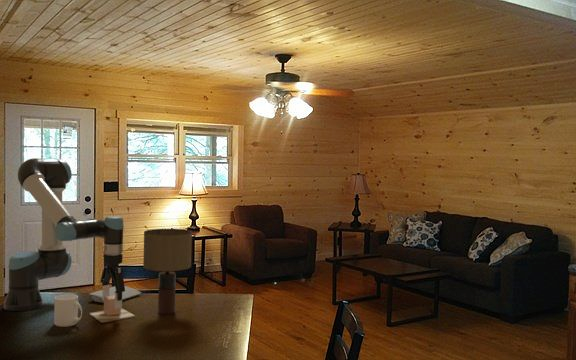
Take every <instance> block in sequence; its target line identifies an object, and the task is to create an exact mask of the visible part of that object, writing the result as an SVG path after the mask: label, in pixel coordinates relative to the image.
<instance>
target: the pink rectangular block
mask: <svg viewBox="0 0 576 360" xmlns="http://www.w3.org/2000/svg"><path fill="white" fill-rule="evenodd" d="M103 311H104V313H105V314H106V315H108V316H111V315H117V314H121V308H116V309H115V295H113V296H106V297H104V303H103Z"/></svg>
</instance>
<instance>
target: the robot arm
mask: <svg viewBox="0 0 576 360" xmlns="http://www.w3.org/2000/svg"><path fill="white" fill-rule="evenodd" d="M72 174H73V173H72V169H71V167H70V165H69V163H68V162H67V161H66V160H64V159H60V158H29V159H27V160H25V161H24V162H22V163H21V165H20V166H19V167H18V170H17V180H18V182H19V185H20V186H21V188H22V189H23V190H24V191H25V192H28V193H30V195H31V196H32V197H33V199H34V200H35V201H36V202H37V204H38V205H39V206H40V208H41V245H40V246H39V247H38V249H37V251H35V250H29V251H21V252H18V253H15V254H13V255H11V256H10V257H9V260H8V292H7V294H6V296H5V299H4V302H3V309H4V310H5V311H9V312H25V311H31V310H32V311H33V310H36V309H39V308H41V307H43V297H42V294H41V291H40V289H39V281H42V280H45V279H46V280H47V279H53V278H59V277H62V276H64V275H66V274H67V273H68V272H69V271H70V269H71V267H72V255H71V253H70V252H69V251H68V250H67V247H66V246H65V245H64V243H63V242H72V241H76V240H77V241H78V240H83V239H93V238H101V239H103V246H102V249H103V253H104V254H103V269H102V273H101V277H100V281H99V282H100V283H101V285H102V290H103V292H102V301H104V297H106V296H109V288H111V287H110V285H111V280H112V281H113V284H114V286H115V288H116V291H115V309H116V308H122V309H123V300H122V292H124V291H125V286H126V285H125V281H124V274H123V267H119V264H122V263H123V260H124V259H123V257H124V256H123V252H124V227H125V226H124V219H123V217H122V216H117V215H112V216H111V215H109V216H105V217H104V219H99V218H87V219H86V220H76V218H75V217H74V216H73V214H72V213H71V212H70V211H69V209H67V207H66V206H65V204H63V192H64V191H65V190H66V188H67V184H69V183H70V181H71V180H72V176H73V175H72Z"/></svg>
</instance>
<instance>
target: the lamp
mask: <svg viewBox="0 0 576 360" xmlns="http://www.w3.org/2000/svg"><path fill="white" fill-rule="evenodd" d="M192 239H193V231H192V230H188V229H183V228H181V229H180V228H155V229H147V230H144V232H143V259H142V260H143V267H142V268H143V269H144V270H147V271H152V272H153V271H154V272H159V273H158V304H157V305H158V307H157V310H158V311H157V312H158V314H159V315H160V314H161V315H172V314H175V311H176V279H177V278H176V276H177V275H176V272H179V271H185V270H189V269H190V268H192V251H193V250H192V249H193V247H192V244H193V240H192Z"/></svg>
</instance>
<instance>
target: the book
mask: <svg viewBox="0 0 576 360" xmlns="http://www.w3.org/2000/svg"><path fill="white" fill-rule="evenodd" d="M124 286H125V291H124V292H122V301H124V300H128V299H131V298H134V297H137V296H138V295H141V294H142V292H141V291H139V290H138V289H136V288H133V287H129V286H127V285H124ZM115 291H116V288H115V285H114V286H111V287H109V296H113V295H115ZM102 292H103V289H101V290H97V291H94V292H91V293H89V295H90V296H91V299H93V301H94V302H97V303H103V304H104V301H102Z"/></svg>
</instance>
